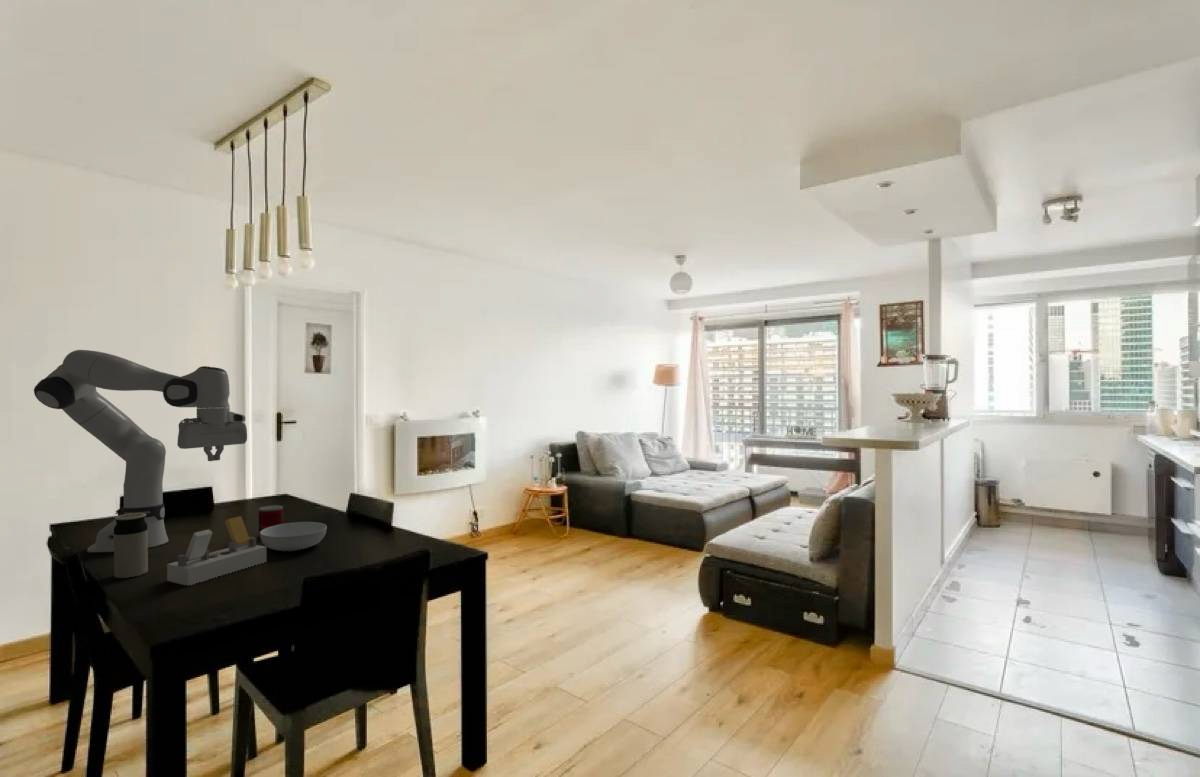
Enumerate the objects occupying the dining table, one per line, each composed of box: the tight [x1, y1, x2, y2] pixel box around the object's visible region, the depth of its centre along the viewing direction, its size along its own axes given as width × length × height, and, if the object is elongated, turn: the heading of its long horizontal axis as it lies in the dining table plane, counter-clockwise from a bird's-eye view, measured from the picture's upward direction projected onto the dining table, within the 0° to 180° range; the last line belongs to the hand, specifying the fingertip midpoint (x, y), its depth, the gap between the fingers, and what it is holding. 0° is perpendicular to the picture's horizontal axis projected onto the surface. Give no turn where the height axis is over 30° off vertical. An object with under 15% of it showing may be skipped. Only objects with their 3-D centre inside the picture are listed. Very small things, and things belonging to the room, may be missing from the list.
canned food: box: [258, 504, 284, 538], centre depth 221 cm, size 8×8×11 cm
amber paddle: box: [224, 515, 251, 548], centre depth 188 cm, size 2×5×10 cm, turn 155°
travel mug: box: [113, 513, 149, 579], centre depth 177 cm, size 8×8×18 cm
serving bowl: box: [259, 521, 328, 552], centre depth 206 cm, size 21×21×7 cm
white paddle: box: [185, 529, 213, 562], centre depth 173 cm, size 2×5×10 cm
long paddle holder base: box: [166, 536, 267, 587], centre depth 180 cm, size 10×24×8 cm, turn 156°
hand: (213, 460), depth 186 cm, fingers closed
